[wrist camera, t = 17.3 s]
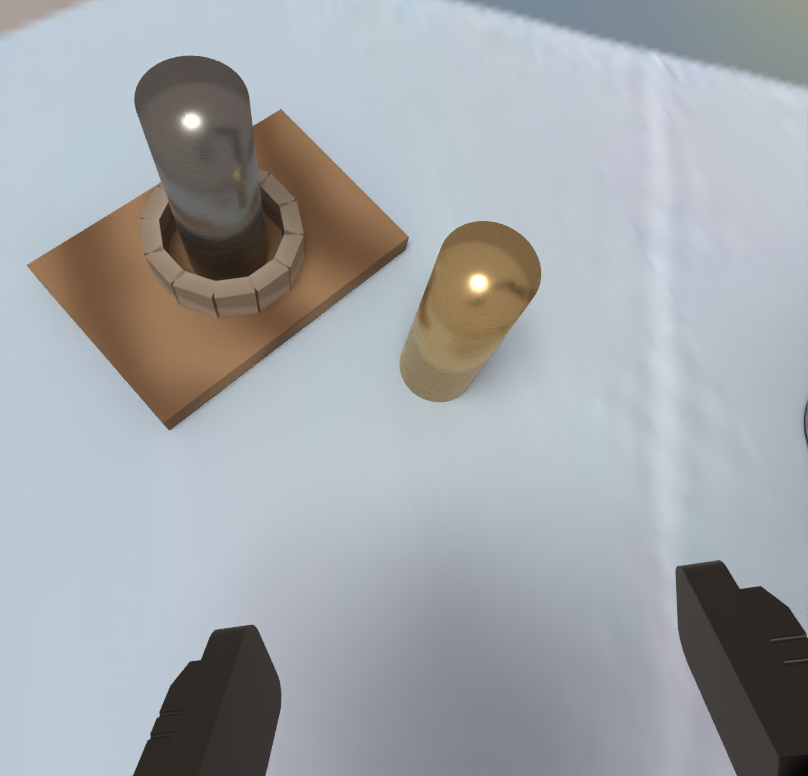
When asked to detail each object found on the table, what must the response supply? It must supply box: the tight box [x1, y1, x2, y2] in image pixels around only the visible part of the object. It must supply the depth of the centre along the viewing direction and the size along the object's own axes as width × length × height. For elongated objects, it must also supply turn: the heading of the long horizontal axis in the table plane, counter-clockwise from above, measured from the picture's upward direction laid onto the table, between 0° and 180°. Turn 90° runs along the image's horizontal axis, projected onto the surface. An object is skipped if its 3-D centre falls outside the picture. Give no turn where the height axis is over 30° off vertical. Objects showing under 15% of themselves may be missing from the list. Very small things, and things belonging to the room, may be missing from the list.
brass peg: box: [400, 221, 541, 402], centre depth 33 cm, size 4×4×12 cm
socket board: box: [27, 109, 409, 430], centre depth 37 cm, size 18×12×4 cm, turn 134°
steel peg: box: [134, 56, 268, 281], centre depth 32 cm, size 4×4×12 cm
